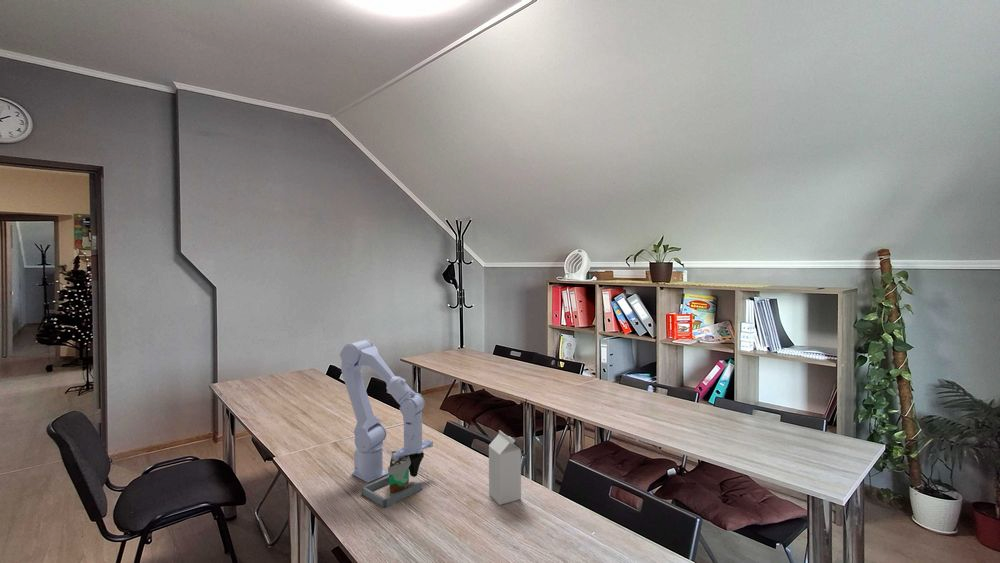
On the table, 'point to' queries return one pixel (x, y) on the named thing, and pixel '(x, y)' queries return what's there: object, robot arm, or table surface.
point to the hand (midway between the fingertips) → (413, 475)
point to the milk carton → (504, 469)
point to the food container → (399, 474)
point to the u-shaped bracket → (392, 499)
